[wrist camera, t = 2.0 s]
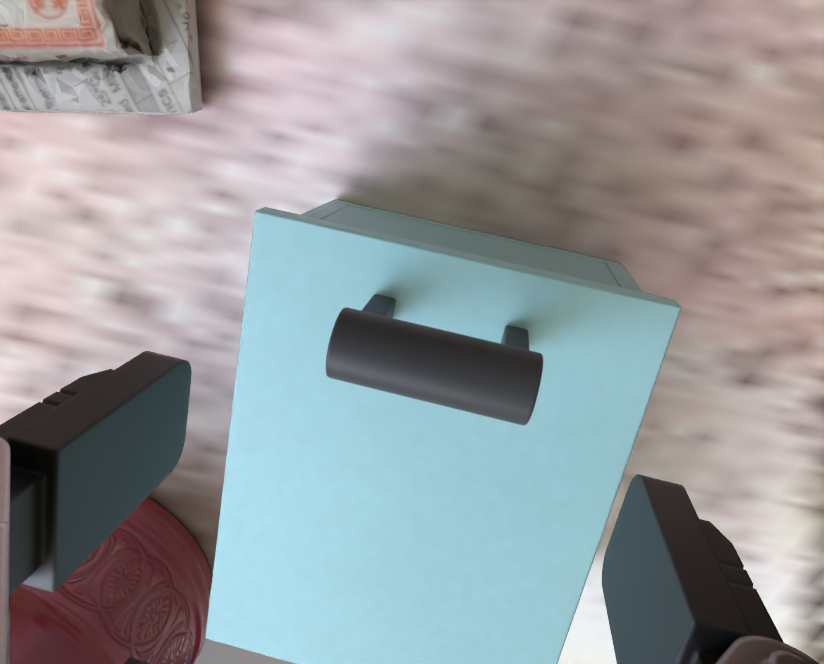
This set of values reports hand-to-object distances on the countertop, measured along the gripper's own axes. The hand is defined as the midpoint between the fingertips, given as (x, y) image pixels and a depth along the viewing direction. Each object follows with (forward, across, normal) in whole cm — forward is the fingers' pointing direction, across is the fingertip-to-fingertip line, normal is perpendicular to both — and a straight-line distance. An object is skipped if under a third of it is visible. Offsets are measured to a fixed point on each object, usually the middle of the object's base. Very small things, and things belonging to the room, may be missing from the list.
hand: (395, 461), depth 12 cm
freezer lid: (+9, 0, +6) cm, 11 cm away
